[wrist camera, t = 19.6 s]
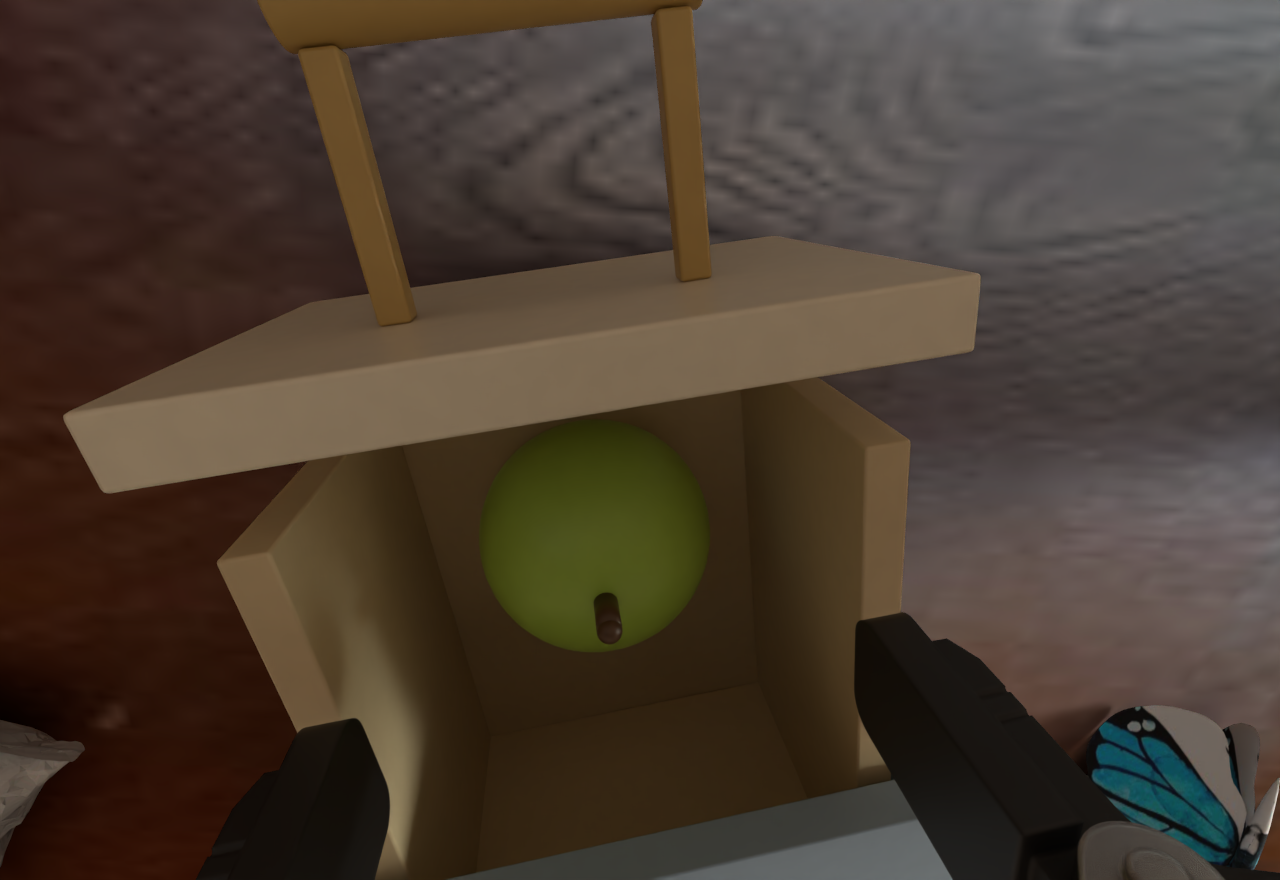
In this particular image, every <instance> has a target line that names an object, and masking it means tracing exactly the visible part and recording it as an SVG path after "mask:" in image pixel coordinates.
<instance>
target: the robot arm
mask: <svg viewBox="0 0 1280 880" xmlns="http://www.w3.org/2000/svg"><path fill="white" fill-rule="evenodd" d="M854 695H855V701H856V706H857V709H858V713H859V716H860V718H861V721H862V723H863V725H864V728H865V730H866V731H867V733H868V735H869V737H870V738H871V740H872V742H873V744H874V745H875V747H876V749H877V750H878V752H879V754H880V756H881V757H882V759H883V761H884V762H885V764H886V766H887V768H888V769H889V771H890V773H891V774H892V776H893V778H894V780H895V781H896V783H897V785H898V787H899V788H900V790H901V792H902V793H903V795H904V797H905V799H906V800H907V802H908V804H909V805H910V807H911V809H912V811H913V812H914V814H915V816H916V817H917V819H918V821H919V823H920V824H921V826H922V828H923V829H924V831H925V833H926V835H927V836H928V838H929V840H930V841H931V843H932V845H933V847H934V848H935V850H936V852H937V854H938V855H939V857H940V859H941V860H942V862H943V864H944V866H945V867H946V869H947V871H948V872H949V874H950V876H951V878H952V879H953V880H1280V873H1275V872H1267V871H1259V870H1251V869H1242V868H1234V867H1227V866H1222V865H1216V864H1212V863H1209V862H1207V861H1206V860H1205V859H1204V858H1203V857H1202V856H1200V855H1199V854H1198V853H1196V852H1195V851H1194V850H1192V849H1191V848H1190V847H1188V846H1187V845H1185V844H1183V843H1182V842H1180V841H1178V840H1177V839H1175V838H1173V837H1171V836H1169V835H1167V834H1165V833H1163V832H1161V831H1158V830H1156V829H1153V828H1151V827H1148V826H1145V825H1141V824H1137V823H1133V822H1131V821H1130V820H1129V819H1127V818H1126V817H1125V816H1124V815H1123V814H1122V813H1121V812H1120V811H1119V810H1118V809H1117V808H1116V807H1115V806H1114V805H1113V803H1112V802H1111V801H1110V800H1109V799H1108V798H1107V797H1106V796H1105V795H1104V794H1103V793H1102V791H1101V790H1100V789H1099V788H1098V787H1097V786H1096V785H1095V784H1094V783H1093V782H1092V781H1091V779H1090V778H1089V777H1088V776H1087V775H1086V774H1085V773H1084V772H1083V771H1082V770H1081V769H1080V768H1079V766H1078V765H1077V764H1076V763H1075V762H1074V761H1073V760H1072V759H1071V758H1070V757H1069V756H1068V754H1067V753H1066V752H1065V751H1064V750H1063V749H1062V748H1061V747H1060V746H1059V745H1058V744H1057V742H1056V741H1055V740H1054V739H1053V738H1052V737H1051V736H1050V735H1049V734H1048V733H1047V732H1046V730H1045V729H1044V728H1043V727H1042V726H1041V725H1040V724H1039V723H1038V722H1037V721H1036V720H1035V718H1034V717H1033V716H1029V715H1028V714H1027V711H1026V709H1025V708H1024V706H1023V705H1022V704H1021V703H1020V702H1019V701H1018V700H1017V699H1016V698H1015V697H1014V696H1013V694H1012V693H1011V692H1007V691H1006V689H1005V686H1004V685H1003V684H1002V682H1001V681H1000V680H999V679H998V678H997V677H996V676H995V675H994V674H993V673H992V672H991V670H990V669H989V668H988V667H987V666H986V665H985V664H984V663H983V662H982V661H981V660H980V659H979V658H978V657H976V656H974V655H973V654H971V653H969V652H968V651H966V650H965V649H963V648H961V647H960V646H958V645H956V644H955V643H953V642H952V641H950V640H948V639H942V640H937V641H931V640H930V638H929V637H928V636H927V635H926V634H925V633H924V631H923V630H922V629H921V628H920V627H919V625H918V624H917V623H916V622H915V621H914V620H913V618H912V617H911V616H909V615H908V614H906V613H903V612H901V613H896V614H891V615H886V616H881V617H875V618H870V619H865V620H860V621H858V622H857V624H856V628H855V662H854ZM389 819H390V795H389V789H388V785H387V782H386V780H385V777H384V775H383V773H382V770H381V768H380V765H379V763H378V761H377V758H376V756H375V754H374V751H373V749H372V746H371V744H370V742H369V739H368V737H367V734H366V732H365V730H364V727H363V725H362V723H361V722H360V721H359V720H358V719H357V718H350V719H345V720H340V721H335V722H330V723H325V724H320V725H315V726H309V727H305V728H303V729H301V730H300V731H299V732H298V733H297V735H296V736H295V738H294V740H293V742H292V744H291V746H290V748H289V750H288V752H287V754H286V757H285V759H284V761H283V763H282V765H281V767H280V769H279V770H277V771H272V772H267V773H264V774H263V775H262V776H261V777H260V779H259V780H258V781H257V782H256V783H255V784H254V785H253V786H252V788H251V789H250V790H249V791H248V792H247V793H246V794H245V796H244V797H243V798H242V799H241V800H240V801H239V802H238V803H237V805H236V806H235V807H234V808H233V809H232V811H231V813H230V815H229V817H228V819H227V821H226V822H225V824H224V826H223V828H222V830H221V832H220V834H219V836H218V838H217V840H216V842H215V844H214V845H213V847H212V855H211V856H210V857H207V859H206V861H205V863H204V865H203V867H202V868H201V870H200V872H199V874H198V876H197V878H196V880H375V877H376V873H377V869H378V865H379V861H380V857H381V854H382V850H383V846H384V842H385V838H386V834H387V830H388V826H389Z"/></svg>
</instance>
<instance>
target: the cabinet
mask: <svg viewBox="0 0 1280 880" xmlns="http://www.w3.org/2000/svg"><path fill="white" fill-rule="evenodd" d="M445 880H953V879H952V878H951V876H950V874H949V872H948V871H947V869H946V867H945V866H944V864H943V862H942V860H941V859H940V857H939V855H938V854H937V852H936V850H935V848H934V847H933V845H932V843H931V841H930V840H929V838H928V836H927V835H926V833H925V831H924V829H923V828H922V826H921V824H920V823H919V821H918V819H917V817H916V816H915V814H914V812H913V811H912V809H911V807H910V805H909V804H908V802H907V800H906V799H905V797H904V795H903V793H902V792H901V790H900V788H899V787H898V785H897V783H896V781H895V780H894V778H893V776H892V774H891V780H890V781H886V782H881V783H877V784H872V785H868V786H863V787H859V788H854V789H850V790H845V791H841V792H836V793H832V794H827V795H823V796H818V797H814V798H809V799H805V800H800V801H796V802H791V803H787V804H782V805H778V806H773V807H769V808H764V809H760V810H755V811H751V812H746V813H742V814H737V815H733V816H728V817H724V818H719V819H715V820H710V821H706V822H701V823H697V824H692V825H688V826H683V827H679V828H674V829H670V830H665V831H661V832H656V833H652V834H647V835H643V836H638V837H634V838H629V839H625V840H620V841H616V842H611V843H607V844H602V845H598V846H593V847H589V848H584V849H580V850H575V851H571V852H566V853H562V854H557V855H553V856H548V857H544V858H539V859H535V860H530V861H526V862H521V863H517V864H512V865H508V866H503V867H499V868H494V869H490V870H485V871H481V872H476V873H472V874H467V875H463V876H458V877H454V878H449V879H445Z"/></svg>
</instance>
